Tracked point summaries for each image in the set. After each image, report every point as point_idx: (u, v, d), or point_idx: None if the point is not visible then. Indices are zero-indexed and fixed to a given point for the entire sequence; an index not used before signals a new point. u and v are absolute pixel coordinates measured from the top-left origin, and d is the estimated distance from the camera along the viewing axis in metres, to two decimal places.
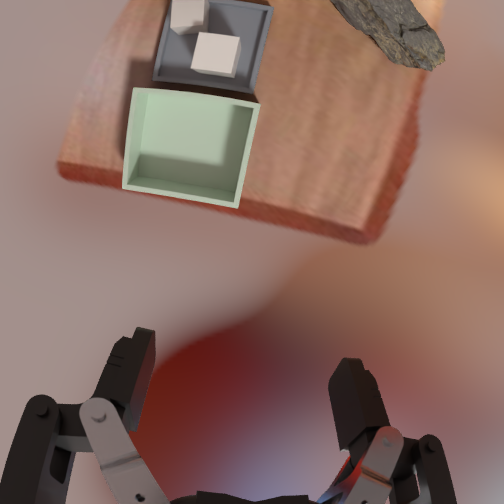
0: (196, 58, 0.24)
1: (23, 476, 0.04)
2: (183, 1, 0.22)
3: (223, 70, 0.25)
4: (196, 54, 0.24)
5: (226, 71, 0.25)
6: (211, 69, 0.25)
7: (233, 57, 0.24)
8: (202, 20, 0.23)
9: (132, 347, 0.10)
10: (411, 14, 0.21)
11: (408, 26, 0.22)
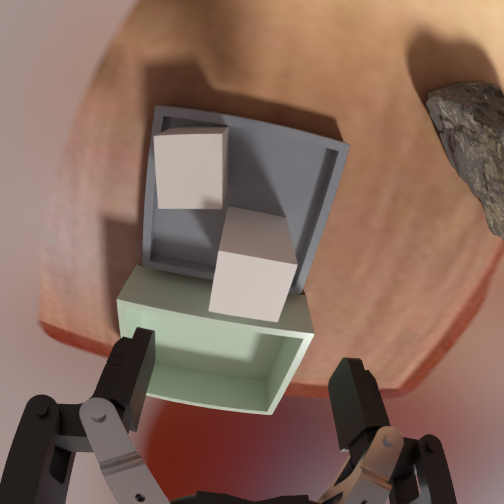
0: (217, 297, 0.16)
1: (23, 476, 0.04)
2: (177, 148, 0.14)
3: (265, 318, 0.17)
4: (216, 290, 0.16)
5: (270, 319, 0.17)
6: (244, 315, 0.17)
7: (283, 299, 0.16)
8: (220, 198, 0.15)
9: (132, 347, 0.10)
10: None
11: None
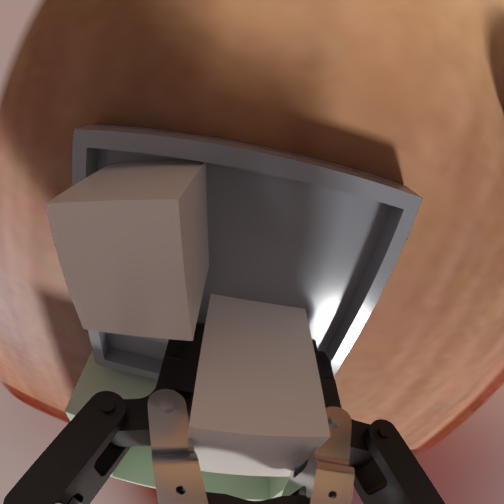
0: None
1: (64, 462, 0.05)
2: (90, 231, 0.06)
3: (271, 475, 0.09)
4: None
5: (278, 475, 0.09)
6: (240, 473, 0.09)
7: (300, 463, 0.08)
8: (187, 323, 0.08)
9: None
10: None
11: None
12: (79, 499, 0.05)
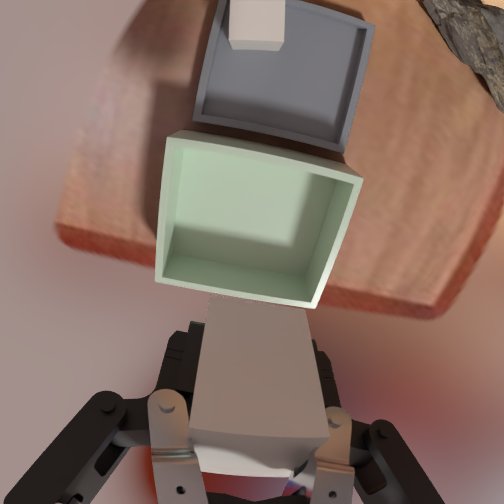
0: None
1: (64, 462, 0.05)
2: None
3: (270, 476, 0.09)
4: None
5: (278, 476, 0.09)
6: (239, 473, 0.09)
7: (300, 463, 0.08)
8: (282, 33, 0.15)
9: (190, 340, 0.11)
10: None
11: None
12: (79, 499, 0.05)
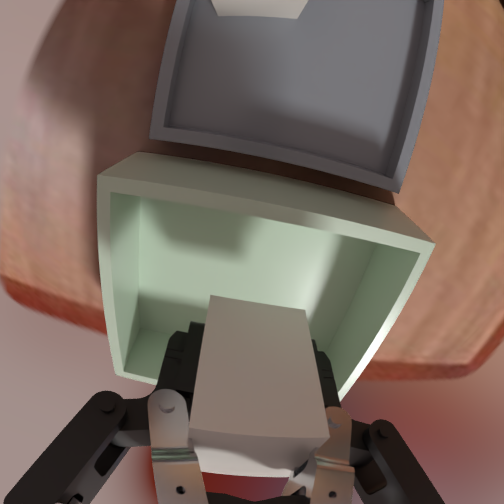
0: None
1: (64, 462, 0.05)
2: None
3: (270, 476, 0.09)
4: None
5: (277, 476, 0.09)
6: (239, 473, 0.09)
7: (300, 463, 0.08)
8: None
9: (190, 340, 0.11)
10: None
11: None
12: (79, 499, 0.05)
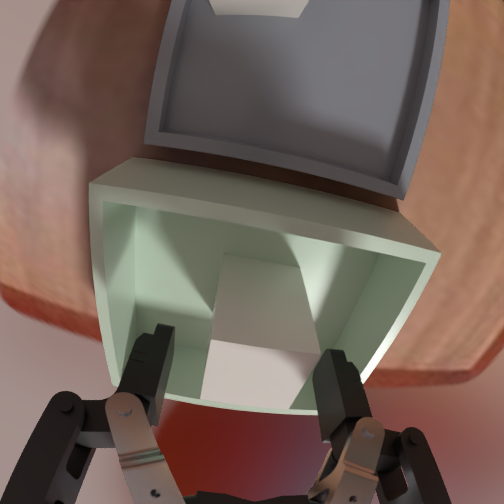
0: (210, 386, 0.11)
1: (38, 469, 0.04)
2: None
3: (273, 406, 0.12)
4: (209, 380, 0.11)
5: (279, 407, 0.12)
6: (246, 403, 0.12)
7: (298, 389, 0.11)
8: None
9: (154, 342, 0.10)
10: None
11: None
12: None
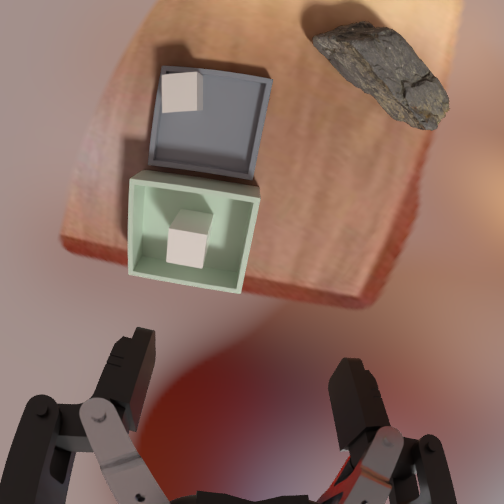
0: (170, 253, 0.31)
1: (23, 476, 0.04)
2: (173, 80, 0.24)
3: (195, 265, 0.31)
4: (169, 250, 0.31)
5: (198, 266, 0.32)
6: (184, 264, 0.31)
7: (203, 254, 0.31)
8: (196, 104, 0.26)
9: (132, 347, 0.10)
10: (412, 65, 0.23)
11: (410, 80, 0.23)
12: None
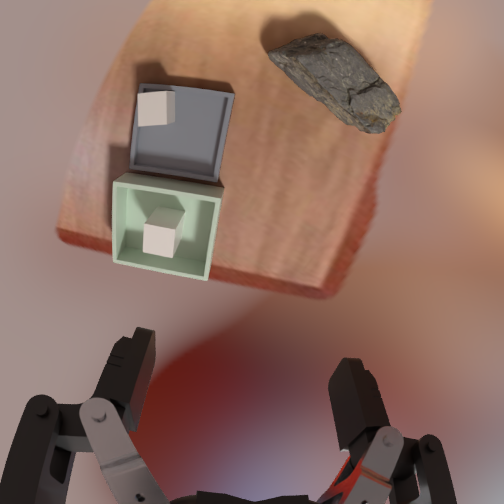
0: (145, 245, 0.36)
1: (23, 476, 0.04)
2: (147, 98, 0.29)
3: (166, 255, 0.36)
4: (145, 241, 0.36)
5: (168, 256, 0.36)
6: (157, 254, 0.36)
7: (172, 246, 0.36)
8: (166, 119, 0.30)
9: (132, 347, 0.10)
10: (360, 73, 0.27)
11: (358, 88, 0.28)
12: None
